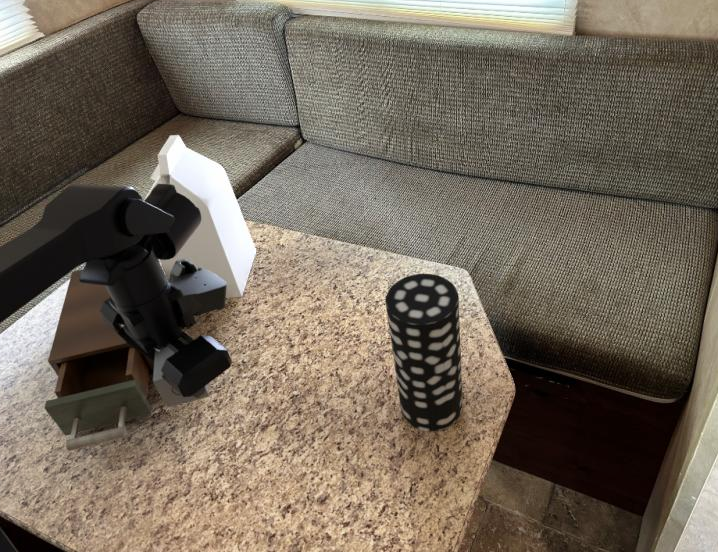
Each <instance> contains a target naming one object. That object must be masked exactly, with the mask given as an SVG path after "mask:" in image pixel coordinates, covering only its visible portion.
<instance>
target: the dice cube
mask: <svg viewBox="0 0 718 552" xmlns="http://www.w3.org/2000/svg"><path fill="white" fill-rule="evenodd" d="M173 354H174V352H173V351H172V350H171V349H170V348H169V347H166V348H165V349H163V350H162V351H160V352H158V351H157V350H155V359H154V373H153V378H152V383H153V384H154V386H155V388H156V390H157V391H158V393H159V395H160V397H161V399H162V401H163V402H164V404H165V406H166V408H172V407H176V406H178V405H182V404H186V403H191V402H194V401H198V400H201V399H206V398H210V383H208V384H207V385H206V386H205V393H204V394H203V395H202V396H201V397H199V398H195V397H193V396H191V397H183V396H181V395H180V394H179V393H178V392H177V391H176V390H175V389H174V388H173V387H172V386H171V385H170V384H169V383H168V382H167V381H165V380H164V379H163V378H162V375H163V373H162V371H161V369H162V367H163V365H164V363H165V360H166V359H167V358H169V357H170V356H172V355H173Z"/></svg>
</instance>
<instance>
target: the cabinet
mask: <svg viewBox="0 0 718 552" xmlns="http://www.w3.org/2000/svg"><path fill="white" fill-rule="evenodd" d="M81 271H82V269H77V270H72V271H71V275H70V278H69V282H68V285H67V289H66V293H65V296H64V299H63V304H62V308H61V311H60V312H61V313H60V315H59V319H58V323H57V326H56V330H55V334H54V338H53V341H52V344H51V348H50V352H49V356H48V359H47V362H48V364H49V365H50V367H51V368H52V370H53V371H54V373H55V374H56V375H57V377H58V376H59V371H60V367H61V363H62V362H65V361H69V360H74V359H78V358H82V357H86V356H91V355H95V354H99V353H104V352H108V351H112V350H116V349H121V348H125V347H129V346H130V345H128V344H127V343H126V342H125V341H124V340H123V339H122V338H121V337H120V336H119V335H118V334H117V331H116V332H115V331H114V330H113V329H112V328H111V327H110V326H109V325H108V324H107V323H106V322H105V321H104V319H103V317H102V315H101V314H100V312H99V311H100V309H101V306H102V304H103V302H104V301H106V300H107V299H109V298H111V296H110V294H109V292H108V290H107V289H106V287H105V286H103V285H93V284H84V283H81V282H80V281H79V278H80V274H81ZM119 326H120V325H119ZM120 327H122V326H120ZM144 356H145V355H144ZM145 358H146V360H147V362H148V364H149V365H150V372H149V380H151V379H152V380H153V373H154V361H152V360H151V359H149V358H148V357H146V356H145Z"/></svg>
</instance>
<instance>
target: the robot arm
mask: <svg viewBox="0 0 718 552" xmlns="http://www.w3.org/2000/svg"><path fill="white" fill-rule="evenodd" d="M145 198H146V197H145ZM145 198H144V199H145ZM144 199H143V197H142V196H141V194H140V193H139V192H138V190H136V189H135V188H134V186H123V185H121V186H120V185H105V184H88V183H73V184H70V185H68V186H67V187H65V188H64V189H63V190H62V191H61V192H59V193H58V195H56V196H55V197H53V198H52V200H50V201H49V202H47V204H46V205H45V206H44V208H43V210H42V214H41V217H40V220H38V222H37V223H36V224H34V225H33V226H32V227H31V228H28V229H27V230H26V231H24V232H22V233H21V234H18V235H17V236H15V237H14V238H12V239H10V240H9V241H7V242H6V243H4V244H2V245H1V246H0V324H2V323H3V322H4V321H6V320H8V318H10V317H11V316H13V315H14V314H16V312H18V311H20V310H21V309H22V308H23V307H25V306H26V305H27V304H29V303H30V302H31V301H33V300H34V299H36V298H37V297H38V296H40V295H41V294H42V293H44V292H45V291H46V290H48V289H49V288H51V287H52V286H53V285H55V284H56V283H57V282H58V281H60V280H62V279H63V278H64V277H65V276H67V275H68V274H69V273H72V272H73V271H75V269H77V268H78V267H79V266H81V265H84V264H85V265H84V266H83V268H81V270H82V271H81V274H80V278H79V281H80V282H81V283H84V284H93V285H103V286H105V287H106V289H107V290H108V292H109V294H110V296H111V298H109V299H107V300H106V301H104V302H103V304H102V306H101V309H100V311H99V312H100V314H101V315H102V317H103V319H104V321H105V322H106V323H107V324H108V325H109V326H110V327H111V328H112V329H113V330H114V331H115V332H116V331H117V334H118V335H119V336H120V337H121V338H122V339H123V340H124V341H125V342H126V343H127V344H128V345H130V346H131V347H133V348H134V349H136V350H137V351H139V352H141V353H142V354H143V355H145V356H146V357H148V358H149V359H151V360H152V361H154V359H155V350H157V351H158V352H160V351H162V350H163V349H165V348H166V347H169V348H170V349H171V350H172V351H173V352H174V354H173V355H172V356H170V357H169V358H167V359H166V360H165V363H164V365H163V367H162V369H161V371H162V373H163V375H162V378H163V379H164V380H165V381H167V382H168V383H169V384H170V385H171V386H172V387H173V388H174V389H175V390H176V391H177V392H178V393H179V394H180V395H181V396H183V397H191V396H193V397H195V398H199V397H201V396H202V395H203V394H204V393H205V386H206V385H207V384H208V383H209V384H211V382H213V381H214V380H215V379H217V378H218V377H219V376H220V375H222V374H223V373H225V372H226V371H227V370H229V369H230V368H231V367H232V363H233V360H232V358H231V355H230V352H229V351H228V349H226V348H225V347H224V346H223V345H222V344H221V343H220V342H218V341H217V340H216V339H214V337H212V336H211V335H205V334H200V335H199V336H197V337H196V338H193V337H192V336H191V335H190V334H188V333H187V332H186V331H185V329H186V330H189V329H191V328H192V327H194V326H196V324H198V322H197V319H196V317H199V316H202V315H205V314H209V313H212V312H215V311H219V312H220V311H222V310H224V309H225V308H226V307H227V298H226V282H225V281H224V280H223V279H221V278H220V277H218V276H217V275H216V274H214V273H213V272H211V271H209V270H204V269H203V268H202V267H199V268H198V270H197V269H196V267H195V265H194V264H193V263H191V262H190V261H188V260H187V259H182V260H178V261H176V262H175V264H174V266H173V268H172V270H171V272H170V279H169V280H167V277H166V275H165V272H164V269H163V267H162V264H161V262H160V260H168V259H171V258H173V257H175V256H176V254H177V253H178V252H179V251H180V249H181V248H182V247H183V245H184V244H185V243H186V242H187V240H188V239H189V238H190V236H191V235H192V234H193V233H194V231H195V230H196V229H197V227H198V226H199V225H200V223H201V212H200V210H199V208H198V207H196V206H195V205H194V203H193V202H192V201H190V200H189V199H188V198H187V197H185V196H184V195H182V194H180V193H177V191H176V189H175V186H174V185H172V184H157V185H156V186H155V187H154V189H153V190H152V191H151V193H150V195H149V196H148V197H147V198H146V199H145V200H144ZM119 325H120V326H122V327H120V326H119ZM0 552H19V550H18V549H17V548H16V547H15V545H14V543H13V542H12V541H11V539H10V538H9V537H8V535H7V534H6V533H5V531H4V530H3V529H2V527H1V526H0Z"/></svg>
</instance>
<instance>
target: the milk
mask: <svg viewBox="0 0 718 552" xmlns="http://www.w3.org/2000/svg"><path fill="white" fill-rule="evenodd" d="M157 160H158V164H157V166H156V167H155V169H154V170H153V172H152V174H151V175H150V177H149V179H150V180H152V181H154V182H153V184H152V186H151V187H150V189H149V191H148V192H147V194H146V195H145V198H144V199H143V201H144V200H145V199H146V198H147V197H148V196H149V195H150V193H151V191H152V190H153V189H154V187H155V186H156V185H157V184H172V185H174V186H175V189H176V191H177V193H180V194H182V195H184V196H185V197H187V198H188V199H189V200H190V201H192V202H193V203H194V205H195V206H196V207H198V208H199V210H200V212H201V223H200V225H199V226H198V227H197V229H196V230H195V231H194V233H193V234H192V235H191V236H190V238H189V239H188V240H187V242H186V243H185V244H184V245H183V247H182V248H181V249H180V251H179V252H178V253H177V254H176V256H175V257H173V258H171V259H168V260H160V259H159V262H160V265H161V267H162V269H163V271H164V274H165V276H166V278H167V280H169V279H170V272H171V270H172V268H173V266H174V264H175V262H176V261H178V260H182V259H187V260H188V261H190V262H191V263H193V264H194V265H195V267H196V269H197V270H198V268H199V267H202V268H203V269H204V270H209V271H211V272H213V273H214V274H216V275H217V276H218V277H220V278H221V279H223V280H224V281H225V282H226V299H230V298H231V299H233V298H243V296H244V292H245V289H246V285H247V282H248V279H249V277H250V273H251V270H252V267H253V264H254V261H255V258H256V254H257V249H256V246H255V244H254V241H253V237H252V235H251V233H250V230H249V228H248V225H247V223H246V220H245V218H244V216H243V212H242V210H241V207H240V205H239V202H238V199H237V197H236V195H235V192H234V188H233V187H232V184H231V181H230V178H229V177H228V174H227V172H226V170H225V168H224V167H223V166H222V165H221V164H220V163H218V162H217V161H215V160H213V159H211V158H209V157H207V156H205V155H203V154H201V153H199V152H197V151H195V150H192V149H191V148H189V147H187V145H186V144H185V143H184V141H183V139H182V137H181V136H180V134H175V135H174V134H170V135H169V136H168V138H167V139H166V141H165V143H164V144H163V146H162V148H161V149H160V151H159V152H158V154H157Z"/></svg>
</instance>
